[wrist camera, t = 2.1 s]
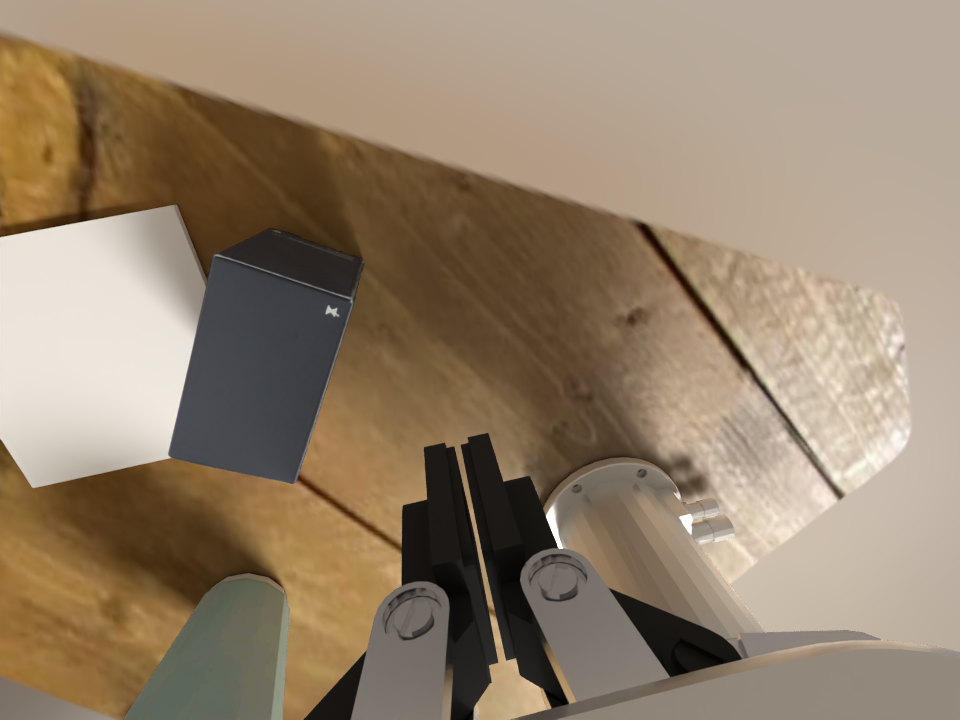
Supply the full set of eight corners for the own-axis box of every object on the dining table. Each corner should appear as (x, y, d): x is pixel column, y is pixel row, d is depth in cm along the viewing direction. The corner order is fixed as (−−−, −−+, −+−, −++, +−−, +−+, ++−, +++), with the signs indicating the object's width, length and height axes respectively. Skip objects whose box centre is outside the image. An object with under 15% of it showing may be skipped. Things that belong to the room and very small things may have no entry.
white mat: (176, 204, 29) (173, 205, 28) (268, 433, 35) (266, 436, 34) (-109, 257, 28) (-117, 259, 27) (38, 483, 34) (33, 488, 33)
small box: (262, 221, 29) (205, 245, 20) (367, 258, 31) (362, 296, 22) (223, 375, 32) (157, 461, 23) (322, 400, 34) (300, 489, 25)
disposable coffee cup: (278, 534, 38) (206, 741, 24) (339, 622, 42) (307, 841, 29) (152, 583, 38) (9, 818, 24) (226, 666, 42) (139, 907, 29)
